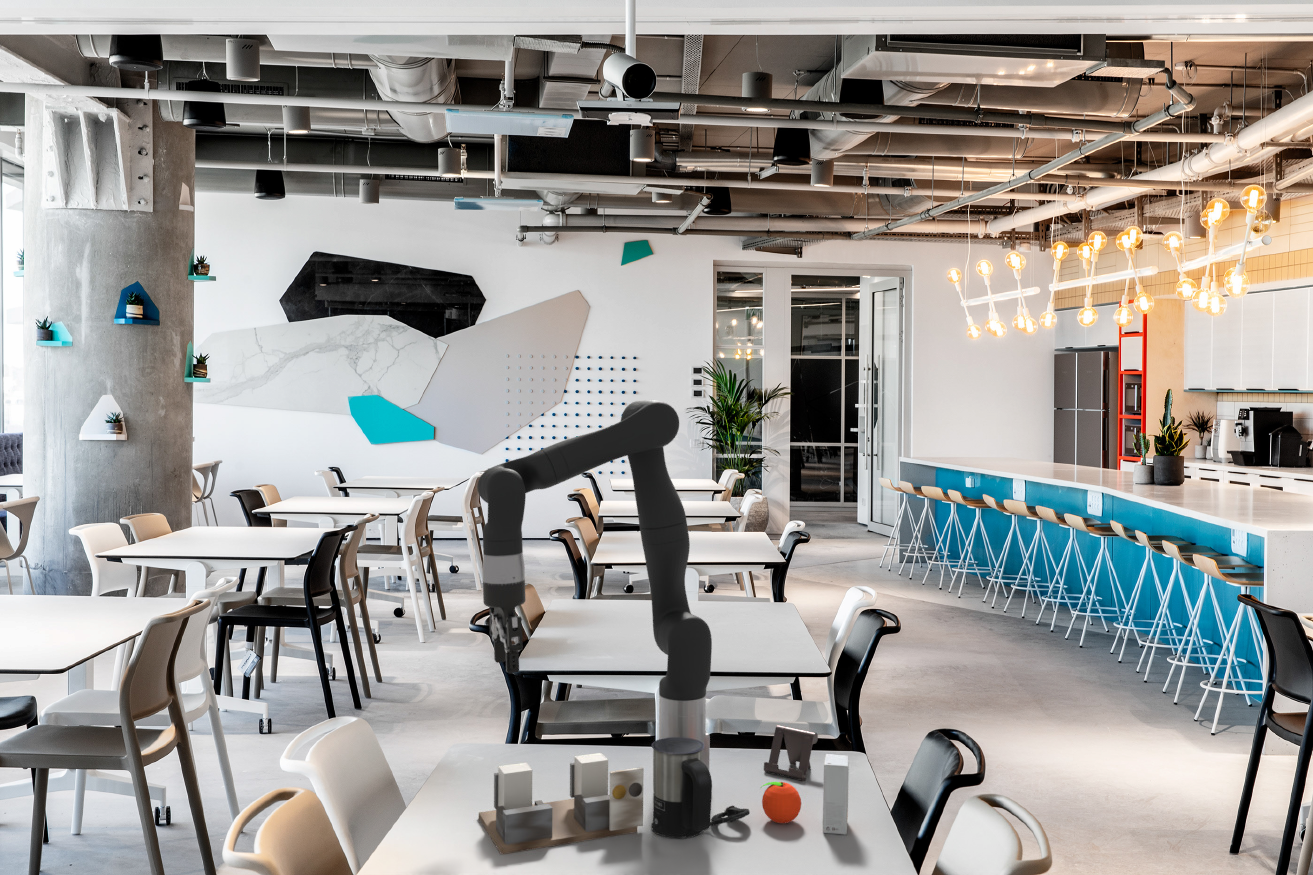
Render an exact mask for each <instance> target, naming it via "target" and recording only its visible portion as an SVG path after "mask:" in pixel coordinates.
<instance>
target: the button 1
mask: <svg viewBox="0 0 1313 875" xmlns="http://www.w3.org/2000/svg"><path fill="white" fill-rule="evenodd" d="M497 769H498V771H497V772H493V808H494V810H496V807H497V806H504V808H505V809H506V810H510V809H516V808H523V807H530V806H532V805H533V769H532V767H530V765H529V764H528V763H527V762H520V763H513V764H506V765H505V764H504V765H499V766H498V767H497Z"/></svg>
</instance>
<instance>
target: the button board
mask: <svg viewBox="0 0 1313 875" xmlns="http://www.w3.org/2000/svg"><path fill="white" fill-rule="evenodd" d="M644 772H645V771H644V767H643V766H641V767H635V768H626V769H620V770H618V769H617V770H613V771H612V770H611V771H609V794H608V795H604V796H598V797H591V798H584V797H583V796H582V795H581V794H580V795H574V798H567V799H562V800H554V801H549V802H544V801H543V800H534V803H532V806H530V807H523V808H516V809H510V810H506V809H505V808H504V806H497V807H496V809H493V810H487V811H486V810H485V811H480V812H478V819H479V821H480V823H481V824H482V825H483V828H484V830H485V831H486V833H487V834H488V836H489V838H490V839H491V838H492V839H491V840H492V841H493V843H494V845H495V846H497V847H496V848H497V851H499V852H500V855H505V854H512V853H518V852H524V851H529V850H536V849H541V848H549V847H554V846H560V845H565V844H572V843H578V842H584V841H591V840H597V839H602V838H608V837H615V836H621V835H627V834H633V833H638V827H642V826H644V776H645V775H644Z"/></svg>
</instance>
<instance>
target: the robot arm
mask: <svg viewBox="0 0 1313 875" xmlns="http://www.w3.org/2000/svg"><path fill="white" fill-rule="evenodd" d="M679 429H680V418H679V415H678V413H677V411H676V410H675V408H674V407H672V405H670V404H669V403H667V402H664V401H661V400H654V399H653V400H652V399H651V400H650V399H649V400H646V399H645V400H636V401H633V402H631V403H630V404H628V405H627V406H626V407H625V408H624V410H623V412H622V414H621V417H620V421H619V422H617V423H614V424H612V425H609V426H607V427H605V428H601V429H599V430H595V431H592V432H589V433H585V434H582V435H578V436H574V437H571V438H567V439H564V440H562V441H559V442H557V443H554V444H551V445H548V446H547V447H544V448H541V449H540V450H537V451H535V452H533V453H531V454H529V455H526V456H523V457H519V458H516V459H513V460H509V461H505V462H502V463H500V464H497V465H494V466H493V467H490V468H488V469H486V470H485V471H484V472H482V474H481V475H480V477H479V479H478V481H477V486H476V488H477V492H478V495H479V497H480V499H481V500H483V501H484V502H485V503H486V504H487V522H486V523H485V524H484V526H483V530H482V550H483V559H482V593H483V594H482V597H483V598H482V599H483V600H482V602H483V605H484V606H485V607H488V609H489V635H490V637H491V640H492V642H493V656H494V657H493V659H494V662H495V663H496V664H499V663H505V672H506V673H508V674H509V675H510V674H517V673H519V672H520V656H519V655H520V654H519V653H520V651H522V650H523V648H524V645H523V627H522V626H523V624H522V623H523V622H522V620H523V619H522V615H518V614H517V613H516V612H517V611H516V608H517V607H518V606H522V605H524V604H525V602H526V576H525V574H526V572H525V568H526V567H525V561H524V553H523V552H524V551H523V531H522V527H523V521H524V515H525V508H526V494H528V493H530V492H532V491H535V490H536V491H537V490H545V489H549V488H552V487H554V486H556V485H559V484H561V483H563V482H566V481H568V480H571V479H573V478H575V477H577V476H579V475H582V474H584V473H586V472H588V471H590V470H593V469H595V468H598V467H600V466H603V465H605V464H607V463H609V462H611V461H614V460H618V459H620V458H624V457H627V459H628V462H629V467H630V471H631V476H632V482H633V489H634V496H635V503H636V510H637V516H638V517H637V518H638V525H639V531H640V537H641V542H642V548H643V555H644V561H645V565H646V572H647V578H648V582H649V587H650V595H651V596H650V597H651V612H652V630H653V637H654V641H655V644H656V646H657V647H658V649H659V650H660V651H661V652H662V653H664V654H665V655H667V665H666V666H667V668H666V674H665V676H663V677H662V678H661V679H660V680H659V682H658V683H659V684H658V740H659V739H664V738H670V737H684V738H692V739H695V740H698V741H701V742H702V743H703V744H704V748H703V749H702V762H703V763H704V764H705V765H706V766H707V768H708V770H709V771H710V751H711V750H710V746H711V745H710V743H711V742H710V741H711V740H710V739H711V738H710V737H711V736H710V734H709V733H708V732H706V731H707V729H706V727H707V726H706V724H707V723H706V722H707V721H706V720H707V687H708V684H709V682H710V680H711V672H712V670H711V669H712V667H711V666H712V650H713V645H712V643H713V642H712V640H713V638H712V633H711V630H710V629H711V628H710V627H709V625H708V623H707V622H706V620H704V619H702V618H701V617H699V616H697V615H695V614H692V613H691V612H692V611H691V610H690V606H689V601H688V594H687V591H686V590H687V589H686V571H687V566H688V561H689V556H690V555H689V554H690V535H689V534H690V533H689V529H688V528H689V527H688V522H687V516H686V511H685V508H684V505H683V502H682V500H681V498H680V496H679V494H678V491H677V489H676V487H675V486H674V484H673V481H672V479H671V477H670V474H669V471H668V468H667V463H666V459H665V458H666V457H665V452H664V447H665V446H667V445H669V444H670V443H672V442H673V441H674V439H676V436H677V435H678V432H679ZM512 642H514V643H512Z"/></svg>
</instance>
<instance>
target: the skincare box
mask: <svg viewBox="0 0 1313 875" xmlns="http://www.w3.org/2000/svg"><path fill="white" fill-rule="evenodd" d="M823 763H824V765H823V794H822V795H823V797H822V798H823V804H822V805H823V806H822V833H826V834H836V835H845V836H846V835H847V834H848V816H849V775H850V774H849V772H850V771H849V770H850V769H849V763H850V762H849V755H844V754H843V755H842V754H841V755H840V754H832V753H831V754H830V753H826V754H825V755H824V762H823Z"/></svg>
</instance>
